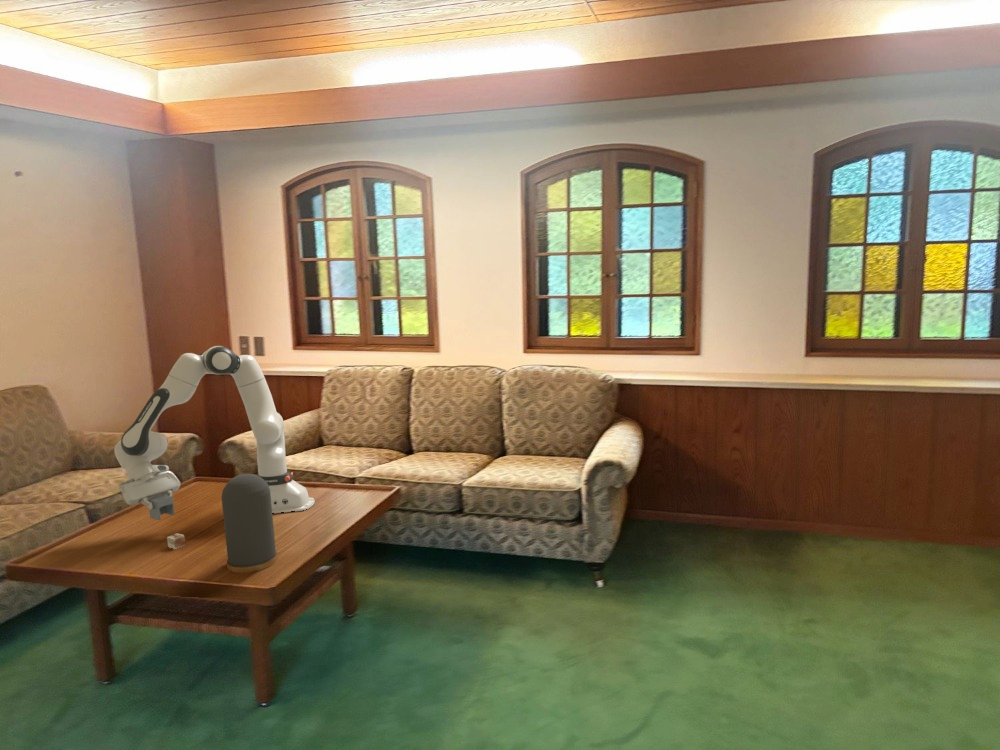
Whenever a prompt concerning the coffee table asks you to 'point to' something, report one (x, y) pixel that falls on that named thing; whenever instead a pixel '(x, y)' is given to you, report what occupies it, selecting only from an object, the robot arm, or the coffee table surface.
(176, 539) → the letter cube
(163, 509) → the slate cover
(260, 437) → the robot arm
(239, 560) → the decorative piece
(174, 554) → the coffee table surface
